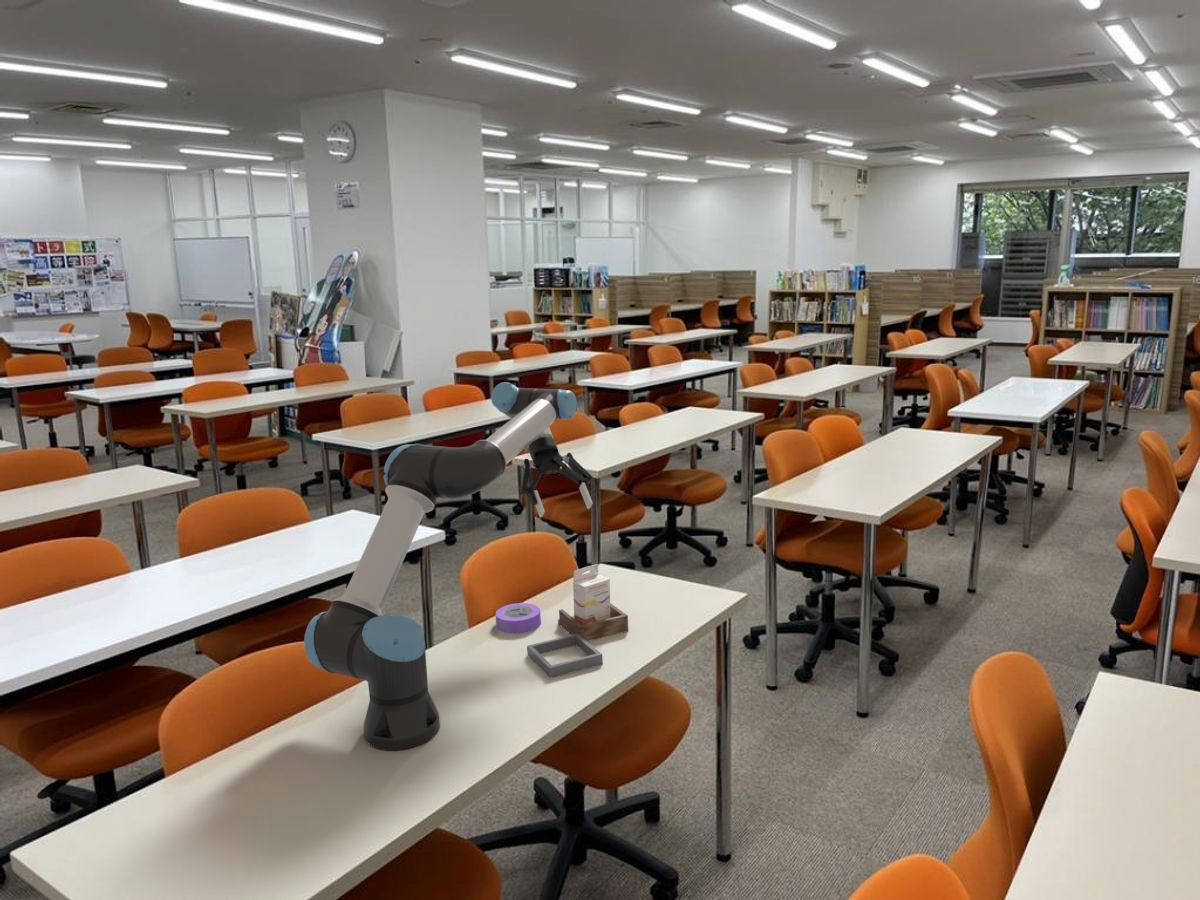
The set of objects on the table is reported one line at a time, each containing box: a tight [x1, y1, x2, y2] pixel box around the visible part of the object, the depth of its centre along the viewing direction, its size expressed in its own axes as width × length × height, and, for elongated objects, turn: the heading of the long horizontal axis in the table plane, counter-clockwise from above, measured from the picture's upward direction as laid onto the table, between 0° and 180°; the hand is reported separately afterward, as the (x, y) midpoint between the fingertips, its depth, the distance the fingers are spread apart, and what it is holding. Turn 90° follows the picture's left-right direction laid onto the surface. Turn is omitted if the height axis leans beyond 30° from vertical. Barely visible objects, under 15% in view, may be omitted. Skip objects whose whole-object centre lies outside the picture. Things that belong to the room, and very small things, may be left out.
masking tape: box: [495, 602, 542, 635], centre depth 226 cm, size 12×12×4 cm
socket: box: [526, 633, 604, 679], centre depth 205 cm, size 14×14×2 cm
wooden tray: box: [557, 602, 629, 642], centre depth 223 cm, size 14×14×4 cm
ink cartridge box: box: [572, 563, 611, 625], centre depth 221 cm, size 9×5×15 cm, turn 129°
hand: (566, 510), depth 223 cm, fingers open, 13 cm apart
